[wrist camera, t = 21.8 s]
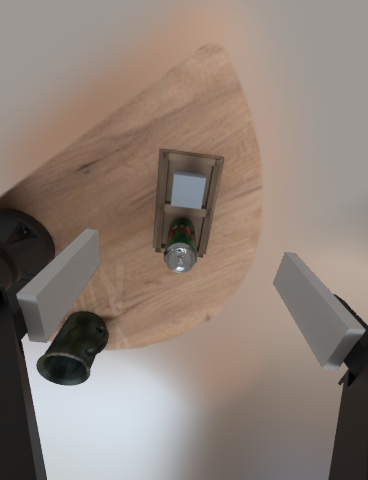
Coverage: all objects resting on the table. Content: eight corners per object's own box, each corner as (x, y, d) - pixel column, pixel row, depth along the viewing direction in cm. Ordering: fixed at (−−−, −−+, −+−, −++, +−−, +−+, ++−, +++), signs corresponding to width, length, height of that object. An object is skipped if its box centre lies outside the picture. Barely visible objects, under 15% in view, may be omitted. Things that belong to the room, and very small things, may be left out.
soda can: (170, 241, 43) (165, 276, 33) (167, 218, 41) (160, 247, 30) (195, 239, 43) (198, 273, 32) (193, 215, 41) (195, 244, 30)
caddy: (153, 245, 45) (151, 252, 42) (160, 148, 37) (158, 149, 34) (205, 251, 45) (206, 259, 43) (223, 157, 37) (226, 159, 34)
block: (175, 169, 37) (173, 174, 33) (203, 173, 37) (206, 178, 33) (172, 197, 39) (170, 205, 35) (199, 200, 40) (201, 209, 35)
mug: (56, 317, 55) (24, 362, 44) (103, 299, 52) (81, 342, 41) (82, 344, 59) (58, 390, 48) (127, 328, 56) (112, 374, 45)
